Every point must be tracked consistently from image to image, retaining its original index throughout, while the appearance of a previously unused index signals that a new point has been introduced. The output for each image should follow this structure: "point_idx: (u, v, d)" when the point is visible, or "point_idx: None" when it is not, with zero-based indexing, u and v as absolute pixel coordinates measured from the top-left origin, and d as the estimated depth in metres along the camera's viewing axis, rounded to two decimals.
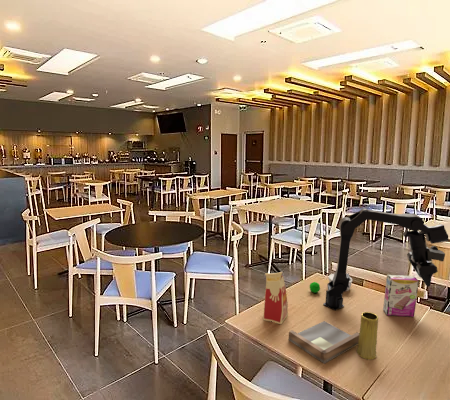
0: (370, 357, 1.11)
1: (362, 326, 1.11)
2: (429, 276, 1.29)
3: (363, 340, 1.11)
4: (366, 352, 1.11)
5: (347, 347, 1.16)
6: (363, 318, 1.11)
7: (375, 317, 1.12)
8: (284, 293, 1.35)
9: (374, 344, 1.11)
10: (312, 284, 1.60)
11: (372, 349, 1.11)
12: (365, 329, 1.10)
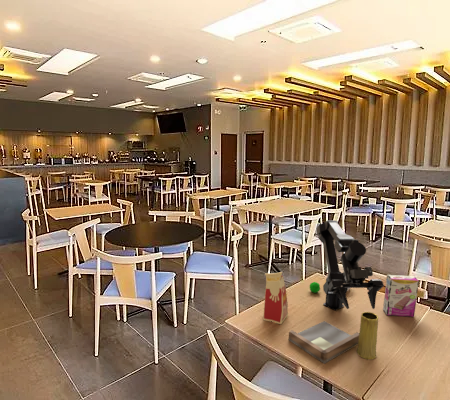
0: (370, 357, 1.11)
1: (362, 326, 1.11)
2: (342, 295, 1.20)
3: (363, 340, 1.11)
4: (366, 352, 1.11)
5: (347, 347, 1.16)
6: (363, 318, 1.11)
7: (375, 317, 1.12)
8: (284, 293, 1.35)
9: (374, 344, 1.11)
10: (312, 284, 1.59)
11: (372, 349, 1.11)
12: (365, 329, 1.10)
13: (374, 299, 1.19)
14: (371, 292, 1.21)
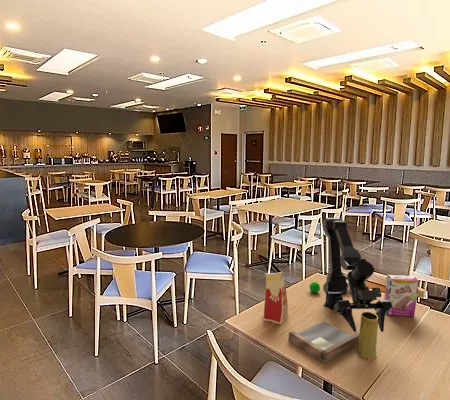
0: (370, 357, 1.11)
1: (362, 326, 1.11)
2: (348, 317, 1.14)
3: (363, 340, 1.11)
4: (366, 352, 1.11)
5: (347, 347, 1.16)
6: (363, 318, 1.11)
7: (375, 317, 1.12)
8: (284, 293, 1.35)
9: (374, 344, 1.11)
10: (312, 284, 1.60)
11: (372, 349, 1.11)
12: (365, 329, 1.10)
13: (383, 321, 1.13)
14: (379, 314, 1.15)
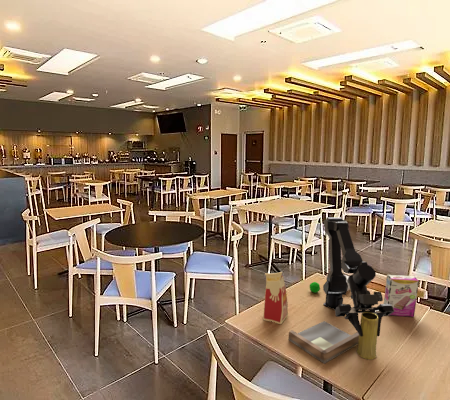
0: (370, 357, 1.11)
1: (362, 326, 1.11)
2: (355, 321, 1.13)
3: (363, 340, 1.11)
4: (366, 352, 1.11)
5: (347, 347, 1.16)
6: (363, 318, 1.11)
7: (375, 317, 1.12)
8: (284, 293, 1.35)
9: (374, 344, 1.11)
10: (312, 284, 1.60)
11: (372, 349, 1.11)
12: (365, 329, 1.10)
13: (379, 326, 1.12)
14: None
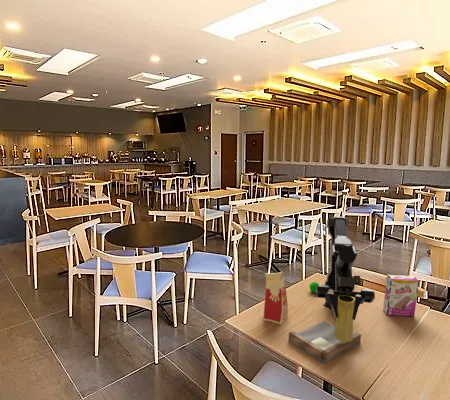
0: (344, 339, 1.11)
1: (337, 308, 1.12)
2: None
3: (338, 322, 1.12)
4: (340, 334, 1.12)
5: (347, 347, 1.16)
6: (338, 300, 1.11)
7: (352, 301, 1.12)
8: (284, 293, 1.35)
9: (349, 327, 1.11)
10: (312, 284, 1.59)
11: (346, 332, 1.11)
12: (340, 311, 1.11)
13: (356, 310, 1.11)
14: (354, 302, 1.13)
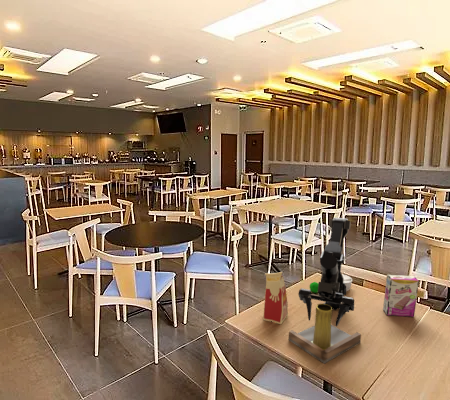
0: (320, 347, 1.15)
1: (316, 315, 1.16)
2: None
3: (315, 329, 1.16)
4: (317, 341, 1.15)
5: (347, 347, 1.16)
6: (316, 308, 1.15)
7: None
8: (284, 293, 1.35)
9: (325, 335, 1.14)
10: (312, 284, 1.60)
11: (322, 339, 1.14)
12: (317, 318, 1.15)
13: (338, 317, 1.13)
14: (339, 309, 1.14)
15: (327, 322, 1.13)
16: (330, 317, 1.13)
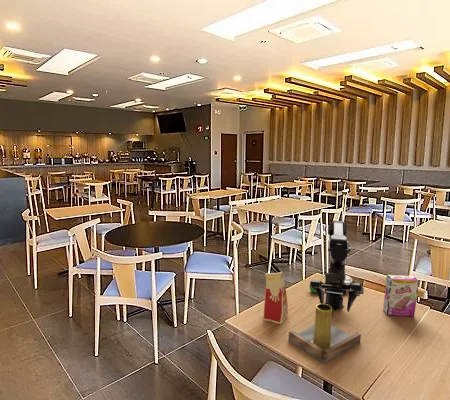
0: (320, 347, 1.15)
1: (315, 316, 1.16)
2: None
3: (315, 329, 1.16)
4: (317, 341, 1.15)
5: (347, 347, 1.16)
6: (316, 308, 1.15)
7: None
8: (284, 293, 1.35)
9: (325, 335, 1.14)
10: None
11: (322, 339, 1.14)
12: (317, 318, 1.15)
13: (349, 303, 1.21)
14: None
15: (327, 322, 1.13)
16: (330, 317, 1.14)
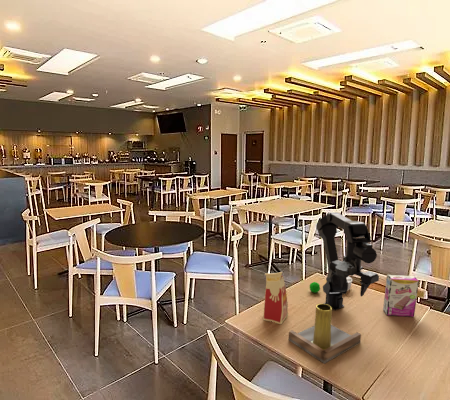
0: (320, 347, 1.15)
1: (315, 315, 1.16)
2: None
3: (315, 329, 1.16)
4: (317, 341, 1.15)
5: (347, 347, 1.16)
6: (316, 307, 1.15)
7: None
8: (284, 293, 1.35)
9: (325, 335, 1.14)
10: (312, 284, 1.59)
11: (322, 339, 1.14)
12: (317, 318, 1.15)
13: (362, 290, 1.27)
14: None
15: (327, 322, 1.13)
16: (330, 317, 1.14)
